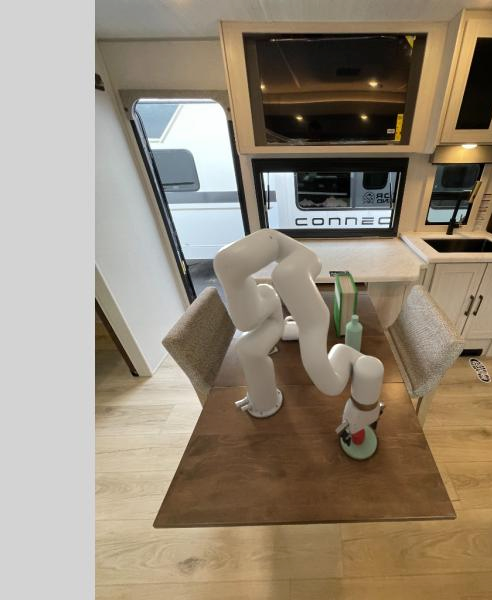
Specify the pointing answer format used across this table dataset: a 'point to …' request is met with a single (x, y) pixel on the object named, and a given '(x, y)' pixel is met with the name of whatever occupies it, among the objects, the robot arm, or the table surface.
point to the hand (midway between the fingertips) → (359, 433)
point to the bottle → (353, 333)
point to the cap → (358, 437)
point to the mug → (290, 330)
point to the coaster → (362, 445)
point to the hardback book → (344, 301)
